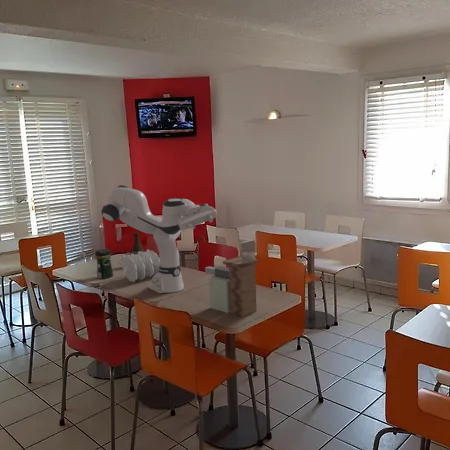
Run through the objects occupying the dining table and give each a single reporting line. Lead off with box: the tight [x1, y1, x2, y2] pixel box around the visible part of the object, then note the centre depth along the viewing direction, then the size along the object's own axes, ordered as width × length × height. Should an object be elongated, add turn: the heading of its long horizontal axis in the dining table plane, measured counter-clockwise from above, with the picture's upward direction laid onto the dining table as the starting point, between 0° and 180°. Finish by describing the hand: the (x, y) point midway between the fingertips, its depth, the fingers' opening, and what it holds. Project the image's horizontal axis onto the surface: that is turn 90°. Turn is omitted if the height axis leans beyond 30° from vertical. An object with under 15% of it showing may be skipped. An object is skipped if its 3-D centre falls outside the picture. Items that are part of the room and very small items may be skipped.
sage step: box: [208, 275, 231, 314], centre depth 234 cm, size 12×12×16 cm
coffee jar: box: [94, 248, 114, 280], centre depth 298 cm, size 10×8×19 cm
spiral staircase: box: [117, 249, 160, 283], centre depth 291 cm, size 18×18×25 cm
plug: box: [204, 265, 229, 279], centre depth 235 cm, size 18×5×4 cm, turn 46°
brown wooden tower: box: [222, 239, 259, 317], centre depth 225 cm, size 12×12×36 cm
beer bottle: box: [131, 231, 144, 255], centre depth 322 cm, size 8×8×24 cm
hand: (202, 224), depth 224 cm, fingers open, 8 cm apart
